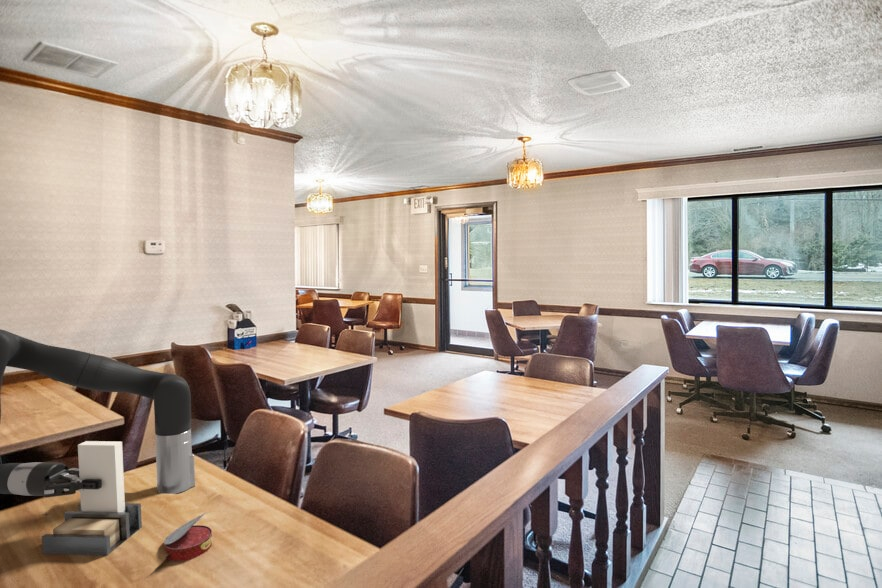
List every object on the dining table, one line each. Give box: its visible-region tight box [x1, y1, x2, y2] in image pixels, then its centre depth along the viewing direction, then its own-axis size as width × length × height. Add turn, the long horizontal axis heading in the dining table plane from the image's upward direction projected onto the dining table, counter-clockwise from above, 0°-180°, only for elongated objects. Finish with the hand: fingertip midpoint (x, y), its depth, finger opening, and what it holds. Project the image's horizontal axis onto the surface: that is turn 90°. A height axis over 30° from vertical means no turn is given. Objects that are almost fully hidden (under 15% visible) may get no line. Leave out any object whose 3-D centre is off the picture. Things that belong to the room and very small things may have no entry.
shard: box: [41, 503, 65, 518], centre depth 127 cm, size 11×8×2 cm
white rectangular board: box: [77, 440, 126, 512], centre depth 116 cm, size 9×2×22 cm, turn 87°
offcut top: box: [52, 518, 119, 536], centre depth 112 cm, size 12×5×2 cm, turn 87°
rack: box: [41, 502, 143, 557], centre depth 114 cm, size 15×12×8 cm
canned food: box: [163, 512, 213, 562], centre depth 113 cm, size 11×10×10 cm
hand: (107, 480), depth 116 cm, fingers open, 3 cm apart
